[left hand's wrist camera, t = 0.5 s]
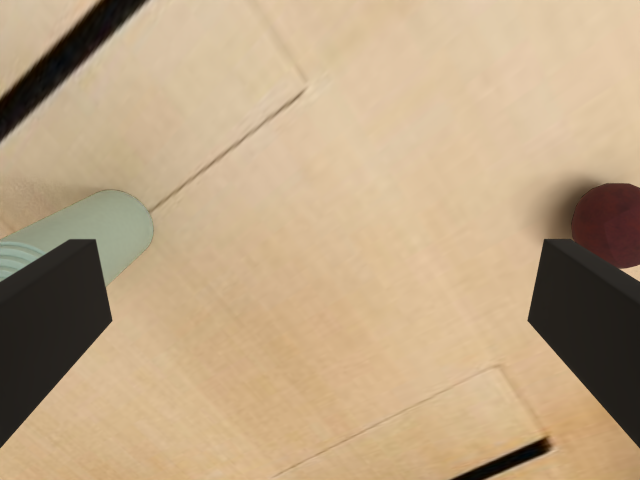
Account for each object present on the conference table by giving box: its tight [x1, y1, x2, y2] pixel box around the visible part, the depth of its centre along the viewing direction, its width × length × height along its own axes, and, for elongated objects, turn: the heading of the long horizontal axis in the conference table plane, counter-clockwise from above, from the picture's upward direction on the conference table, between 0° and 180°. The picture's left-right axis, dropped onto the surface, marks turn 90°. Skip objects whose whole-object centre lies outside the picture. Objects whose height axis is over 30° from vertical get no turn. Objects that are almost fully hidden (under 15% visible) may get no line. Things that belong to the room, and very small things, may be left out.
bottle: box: [0, 190, 153, 287], centre depth 32 cm, size 7×7×20 cm
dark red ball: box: [571, 183, 640, 269], centre depth 37 cm, size 7×8×7 cm
